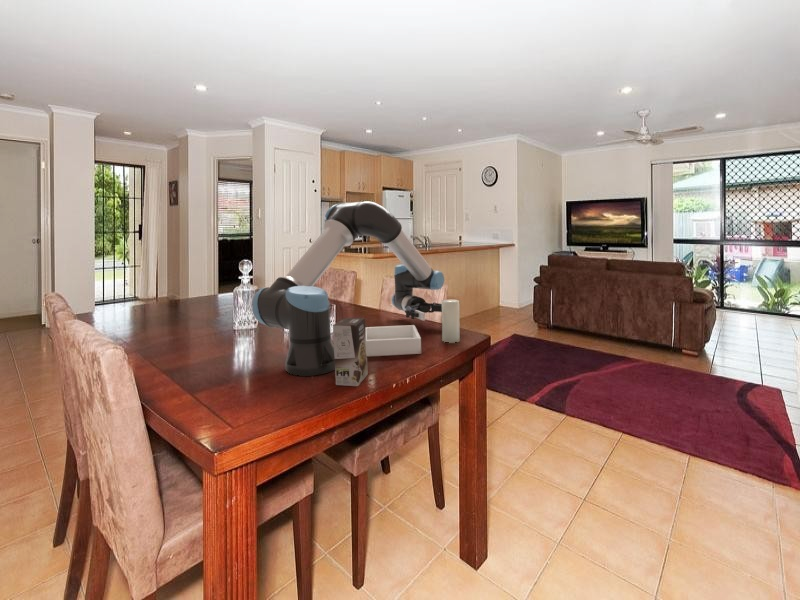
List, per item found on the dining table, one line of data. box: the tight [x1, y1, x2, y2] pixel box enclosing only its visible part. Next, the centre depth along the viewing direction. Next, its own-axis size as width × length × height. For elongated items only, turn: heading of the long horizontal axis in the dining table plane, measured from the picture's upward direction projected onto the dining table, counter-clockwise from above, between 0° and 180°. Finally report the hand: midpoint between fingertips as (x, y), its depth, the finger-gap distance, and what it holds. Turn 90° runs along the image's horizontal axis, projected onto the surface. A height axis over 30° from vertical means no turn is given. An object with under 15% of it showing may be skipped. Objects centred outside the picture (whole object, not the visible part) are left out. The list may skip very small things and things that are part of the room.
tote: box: [365, 324, 422, 357], centre depth 144 cm, size 18×18×5 cm
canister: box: [441, 299, 461, 344], centre depth 149 cm, size 6×6×14 cm
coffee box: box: [332, 317, 368, 387], centre depth 114 cm, size 9×6×16 cm
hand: (440, 314), depth 155 cm, fingers open, 13 cm apart
